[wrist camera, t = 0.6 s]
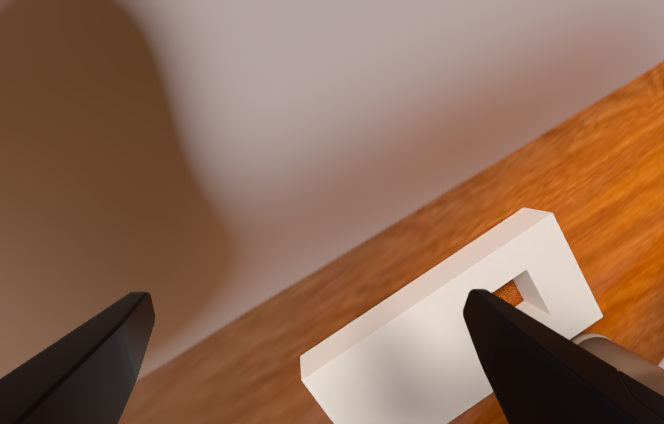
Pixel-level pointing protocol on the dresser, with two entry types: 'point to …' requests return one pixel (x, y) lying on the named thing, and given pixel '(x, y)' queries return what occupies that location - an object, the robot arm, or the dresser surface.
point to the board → (446, 328)
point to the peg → (623, 360)
